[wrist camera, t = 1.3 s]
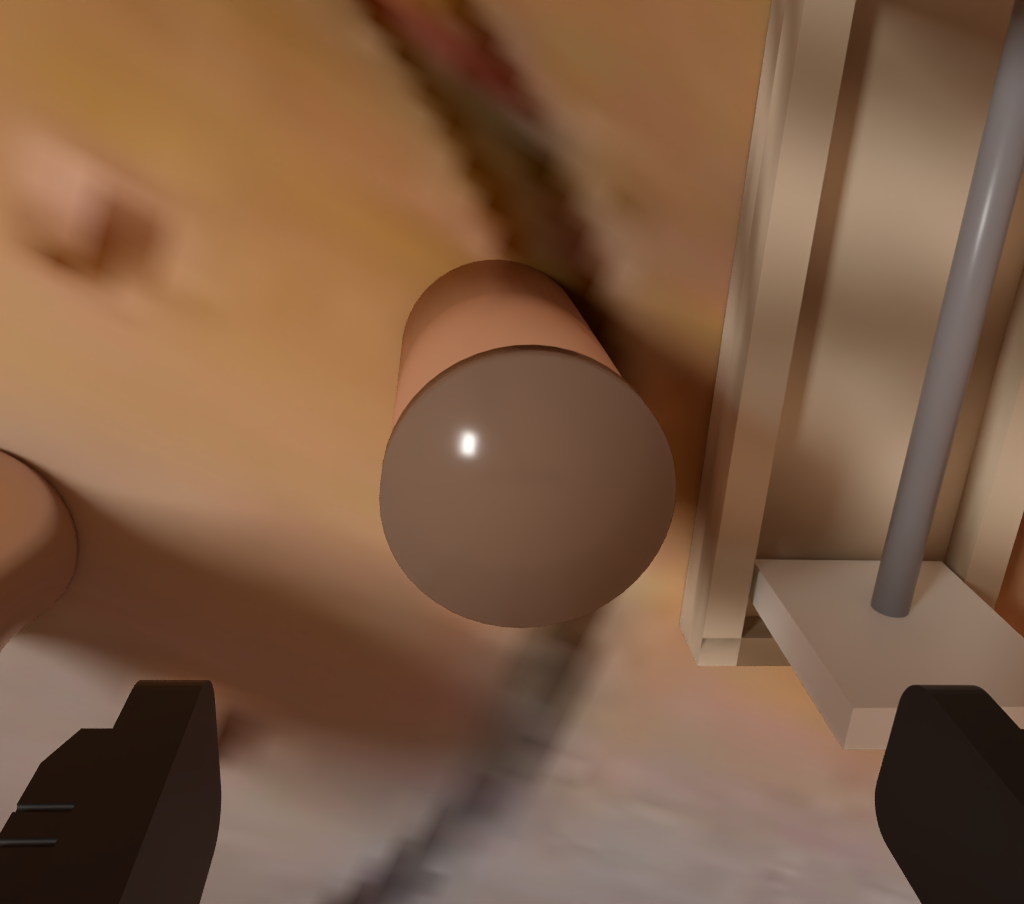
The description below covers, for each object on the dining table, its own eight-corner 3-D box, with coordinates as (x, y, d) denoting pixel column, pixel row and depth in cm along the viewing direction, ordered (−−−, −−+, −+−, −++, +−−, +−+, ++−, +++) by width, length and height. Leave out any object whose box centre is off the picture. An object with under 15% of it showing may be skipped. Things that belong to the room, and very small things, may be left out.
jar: (398, 251, 24) (379, 351, 15) (597, 260, 25) (694, 361, 15) (397, 439, 26) (379, 627, 17) (580, 443, 27) (657, 628, 18)
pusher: (873, -122, 20) (1078, -217, 14) (1118, -100, 21) (1421, -182, 15) (746, 593, 27) (843, 749, 21) (932, 594, 28) (1081, 747, 22)
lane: (798, -174, 21) (1059, -360, 12) (1152, -141, 22) (1632, -292, 13) (679, 625, 29) (785, 856, 20) (940, 626, 30) (1149, 848, 21)
